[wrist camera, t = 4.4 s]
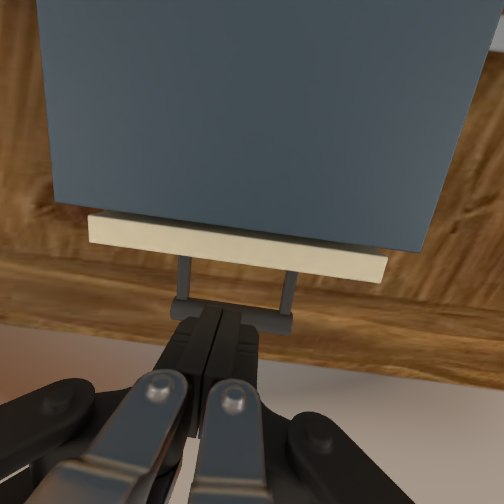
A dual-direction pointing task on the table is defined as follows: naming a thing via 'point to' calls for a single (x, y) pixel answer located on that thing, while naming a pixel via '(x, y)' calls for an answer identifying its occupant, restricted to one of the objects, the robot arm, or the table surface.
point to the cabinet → (263, 110)
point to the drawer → (237, 259)
